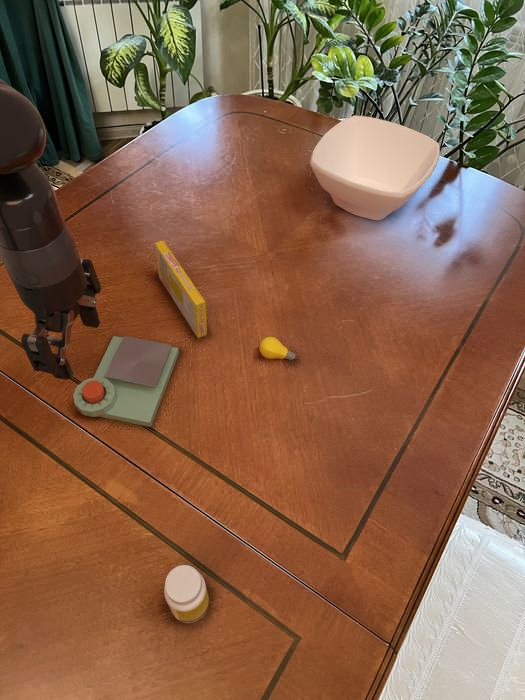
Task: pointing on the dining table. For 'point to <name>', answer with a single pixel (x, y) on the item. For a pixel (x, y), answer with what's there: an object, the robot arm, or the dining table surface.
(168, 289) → the candy box
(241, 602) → the dining table surface
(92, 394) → the power button
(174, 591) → the supplement bottle
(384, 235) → the dining table surface
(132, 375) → the scale pan
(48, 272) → the robot arm
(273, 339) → the light bulb
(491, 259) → the dining table surface
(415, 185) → the bowl
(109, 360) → the scale
